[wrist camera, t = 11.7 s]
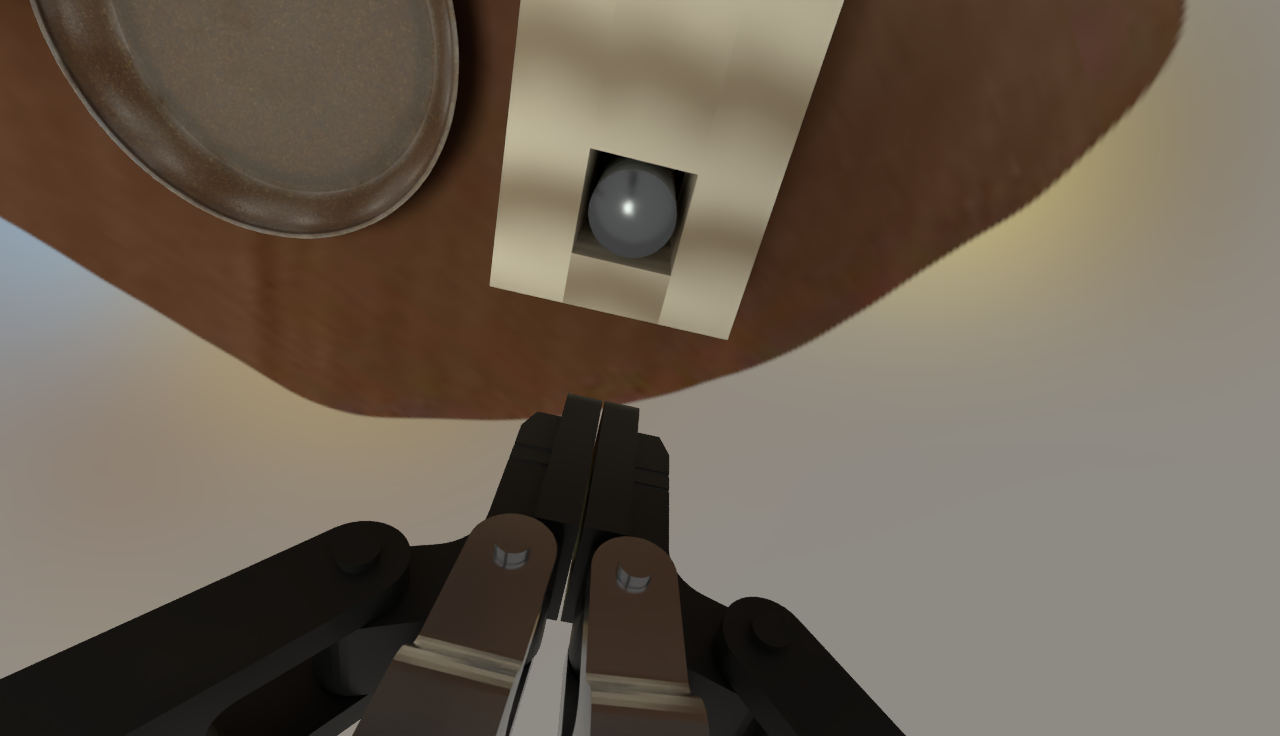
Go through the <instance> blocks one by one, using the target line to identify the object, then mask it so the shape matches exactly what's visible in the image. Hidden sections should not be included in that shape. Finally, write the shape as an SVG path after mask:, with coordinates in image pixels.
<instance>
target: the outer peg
mask: <svg viewBox="0 0 1280 736" xmlns="http://www.w3.org/2000/svg"><path fill="white" fill-rule="evenodd" d="M588 217H589V223H590V227H591V229H592V232H593V234H594V236H595V237H596V239H597V240H598V241H599V243H600V244H601V245H602V246H603V247H605V248H606V249H607V250H609V251H610V252H612V253H614V254H616V255H619V256H622V257H627V258H640V257H644V256H648V255H650V254H652V253H654V252H656V251H658V250H659V249H661V248H662V247H663V246H664V245H665V244H666V243H667V241H668V240H669V239H670V237H671V235H672V233H673V231H674V228H675V225H676V219H677V207H676V183H675V170H674V169H672V168H668V167H664V166H660V165H656V164H652V163H648V162H644V161H640V160H636V159H632V158H628V157H624V156H620V155H616V154H612V155H611V156H610V158H609V160H608V162H607V164H606V166H605V168H604V170H603V173H602V175H601V177H600V179H599V181H598V184H597V186H596V188H595V190H594V192H593V194H592V197H591V199H590V203H589V210H588Z"/></svg>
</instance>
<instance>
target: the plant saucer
mask: <svg viewBox="0 0 1280 736" xmlns="http://www.w3.org/2000/svg"><path fill="white" fill-rule="evenodd" d="M30 3H31V6H32V9H33V12H34V14H35V17H36V19H37V22H38V24H39V27H40V29H41V31H42V33H43V36H44V38H45V40H46V42H47V44H48V46H49V48H50V50H51V52H52V54H53V56H54V58H55V60H56V62H57V64H58V65H59V67H60V69H61V70H62V72H63V74H64V75H65V77H66V78H67V80H68V82H69V83H70V85H71V86H72V88H73V89H74V91H75V92H76V94H77V95H78V97H79V98H80V100H81V101H82V102H83V104H84V105H85V107H86V108H87V110H88V111H89V112H90V114H91V115H92V116H93V117H94V119H95V120H96V121H97V122H98V124H99V125H100V126H101V127H102V128H103V129H104V130H105V132H106V133H107V134H108V135H109V136H110V137H111V138H112V140H113V141H114V142H115V143H116V144H117V145H118V146H119V147H120V148H121V149H122V150H123V151H124V152H125V153H126V154H127V155H128V156H129V157H130V158H131V159H132V160H133V161H134V162H135V163H137V164H138V165H139V166H140V167H141V168H142V169H143V170H144V171H146V172H147V173H148V174H150V175H151V176H152V177H153V178H154V179H155V180H157V181H158V182H160V183H161V184H162V185H164V186H165V187H166V188H168V189H169V190H171V191H172V192H174V193H175V194H177V195H178V196H179V197H181V198H182V199H184V200H186V201H188V202H189V203H191V204H192V205H194V206H196V207H198V208H199V209H202V210H204V211H206V212H208V213H209V214H211V215H214V216H216V217H218V218H220V219H222V220H224V221H227V222H230V223H232V224H235V225H237V226H240V227H243V228H246V229H249V230H253V231H257V232H260V233H265V234H271V235H276V236H282V237H290V238H308V239H313V238H323V237H331V236H338V235H343V234H347V233H350V232H354V231H356V230H359V229H362V228H364V227H367V226H369V225H371V224H374V223H376V222H378V221H379V220H381V219H383V218H385V217H386V216H388V215H389V214H391V213H392V212H394V211H395V210H396V209H398V208H399V207H400V206H401V205H402V204H404V203H405V202H406V201H407V200H408V199H409V198H410V197H411V196H412V195H413V194H414V193H415V192H416V191H417V190H418V189H419V187H420V186H421V185H422V183H423V182H424V181H425V180H426V178H427V177H428V175H429V174H430V172H431V171H432V169H433V167H434V165H435V164H436V162H437V160H438V158H439V156H440V154H441V152H442V149H443V147H444V145H445V142H446V139H447V137H448V134H449V131H450V127H451V123H452V120H453V116H454V110H455V105H456V99H457V91H458V79H459V46H458V34H457V26H456V17H455V12H454V7H453V1H452V0H30Z"/></svg>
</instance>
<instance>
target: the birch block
mask: <svg viewBox="0 0 1280 736" xmlns="http://www.w3.org/2000/svg"><path fill="white" fill-rule="evenodd" d="M843 2H844V0H521V3H520V12H519V21H518V30H517V40H516V49H515V58H514V67H513V76H512V86H511V95H510V104H509V113H508V122H507V131H506V141H505V150H504V159H503V168H502V177H501V187H500V196H499V205H498V214H497V223H496V232H495V242H494V251H493V260H492V269H491V278H490V286H492V287H496V288H500V289H505V290H509V291H514V292H518V293H522V294H527V295H531V296H536V297H540V298H544V299H549V300H553V301H558V302H562V303H566V304H571V305H575V306H580V307H584V308H589V309H593V310H597V311H602V312H606V313H611V314H615V315H619V316H624V317H628V318H633V319H637V320H641V321H646V322H650V323H655V324H659V325H663V326H668V327H672V328H677V329H681V330H685V331H690V332H694V333H699V334H703V335H707V336H712V337H716V338H721V339H725V340H728V337H729V334H730V331H731V328H732V325H733V322H734V320H735V317H736V314H737V311H738V308H739V305H740V302H741V299H742V296H743V293H744V290H745V287H746V285H747V282H748V279H749V276H750V273H751V270H752V267H753V264H754V261H755V258H756V255H757V253H758V250H759V247H760V244H761V241H762V238H763V235H764V232H765V229H766V226H767V223H768V220H769V218H770V215H771V212H772V209H773V206H774V203H775V200H776V197H777V194H778V191H779V188H780V185H781V183H782V180H783V177H784V174H785V171H786V168H787V165H788V162H789V159H790V156H791V153H792V151H793V148H794V145H795V142H796V139H797V136H798V133H799V130H800V127H801V124H802V121H803V118H804V116H805V113H806V110H807V107H808V104H809V101H810V98H811V95H812V92H813V89H814V86H815V83H816V81H817V78H818V75H819V72H820V69H821V66H822V63H823V60H824V57H825V54H826V51H827V49H828V46H829V43H830V40H831V37H832V34H833V31H834V28H835V25H836V22H837V19H838V16H839V14H840V11H841V8H842V5H843ZM602 151H604V152H608V153H612V154H616V155H620V156H624V157H628V158H632V159H636V160H640V161H644V162H648V163H652V164H656V165H660V166H664V167H668V168H672V169H676V170H680V171H684V172H685V173H684V177H683V181H682V184H681V188H680V192H679V196H678V200H677V204H676V207H677V219H676V225H675V228H674V231H673V233H672V235H671V237H670V239H669V240H668V241H667V243H666V244H665V245H664V246H663V247H662V248H661V249H659V250H658V251H656V252H654V253H652V254H650V255H648V256H644V257H640V258H627V257H622V256H619V255H616V254H614V253H612V252H610V251H609V250H607V249H606V248H605V247H603V246H602V245H601V244H600V243H599V241H598V240H597V239H596V237H595V236H594V234H593V232H592V229H591V227H590V223H589V217H588V210H589V203H590V199H591V197H592V194H593V192H594V189H595V184H596V178H597V173H598V168H599V162H600V157H601V152H602Z"/></svg>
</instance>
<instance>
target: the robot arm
mask: <svg viewBox="0 0 1280 736" xmlns="http://www.w3.org/2000/svg"><path fill="white" fill-rule="evenodd" d="M601 406H602V400H598V399H593V398H588V397H584V396H579V395H574V394H570V393H568V396H567V399H566V403H565V406H564V410H563V414H562V417H561V416H556V415H551V414H546V413H542V412H536V413H535V414H534V415H533V416H531V417H530V418H529V419H528V420H527V421H525V422H524V423H523V424H522V425H521V428H520V430H519V433H518V436H517V438H516V441H515V445H514V447H513V449H512V452H511V454H510V458H509V460H508V462H507V465H506V468H505V470H504V473H503V476H502V479H501V481H500V484H499V487H498V489H497V492H496V495H495V497H494V500H493V503H492V505H491V508H490V511H489V513H488V515H487V517H486V519H485V520H484V521H482V522H481V523H479V524H478V525H477V526H476V527H475V528H474V529H473V530H472V532H471V533H470V534H469V535H467V536H465V537H464V538H461V539H459V540H456V541H453V542H449V543H443V544H435V545H421V546H409V543H408V541H407V539H406V538H405V536H404V535H403V534H402V533H401V532H400V531H399V530H397V529H396V528H394V527H392V526H390V525H387V524H384V523H380V522H374V521H358V522H351V523H347V524H344V525H341V526H338V527H335V528H333V529H331V530H329V531H326V532H324V533H322V534H320V535H318V536H315V537H313V538H311V539H309V540H306V541H304V542H302V543H300V544H298V545H296V546H293V547H291V548H289V549H287V550H285V551H282V552H280V553H278V554H276V555H273V556H271V557H269V558H267V559H265V560H262V561H260V562H258V563H256V564H254V565H251V566H249V567H247V568H245V569H243V570H240V571H238V572H236V573H234V574H231V575H229V576H227V577H225V578H223V579H220V580H219V581H216V582H214V583H212V584H209V585H207V586H205V587H203V588H201V589H198V590H196V591H194V592H192V593H190V594H188V595H185V596H183V597H181V598H179V599H176V600H174V601H172V602H170V603H168V604H165V605H163V606H161V607H159V608H157V609H154V610H152V611H150V612H148V613H146V614H143V615H141V616H139V617H137V618H134V619H132V620H130V621H128V622H126V623H123V624H121V625H119V626H117V627H115V628H112V629H110V630H108V631H106V632H104V633H101V634H99V635H97V636H95V637H92V638H90V639H88V640H86V641H84V642H81V643H79V644H77V645H75V646H73V647H71V648H68V649H66V650H64V651H62V652H59V653H57V654H55V655H53V656H51V657H48V658H46V659H44V660H42V661H40V662H38V663H35V664H33V665H31V666H29V667H26V668H24V669H22V670H20V671H18V672H15V673H13V674H11V675H9V676H6V677H4V678H2V679H0V736H337V735H339V734H340V733H341V732H343V731H344V730H345V729H347V728H348V727H350V726H351V725H353V724H354V723H356V722H357V721H358V720H360V719H361V720H360V722H359V724H358V726H357V728H356V730H355V731H354V733H353V735H352V736H511V733H512V730H513V726H514V723H515V720H516V716H517V713H518V710H519V706H520V703H521V700H522V696H523V693H524V690H525V686H526V683H527V680H528V676H529V673H530V669H531V666H532V663H533V658H534V656H535V655H536V654H537V652H538V650H539V648H540V645H541V640H542V637H543V632H544V628H545V624H546V619H552V620H557V618H558V613H559V609H560V605H561V601H562V597H563V593H564V588H565V584H566V580H567V576H568V572H569V568H570V563H571V568H570V574H569V578H568V584H567V589H566V595H565V600H564V606H563V611H562V617H561V621H563V622H569V623H573V625H572V631H571V638H570V644H569V648H568V652H567V656H566V660H565V663H564V669H563V680H562V692H561V703H560V715H559V726H558V736H906V735H905V734H904V733H903V732H902V731H901V730H900V729H899V728H898V727H897V726H896V725H895V724H894V723H893V721H892V720H891V719H890V718H889V717H888V716H887V715H886V714H885V713H884V712H883V711H882V710H881V708H880V707H879V706H878V705H877V704H876V703H875V702H874V701H873V700H872V699H871V698H870V697H869V696H868V694H867V693H866V692H865V691H864V690H863V689H862V688H861V687H860V686H859V685H858V684H857V683H856V681H855V680H854V679H853V678H852V677H851V676H850V675H849V674H848V673H847V672H846V671H845V670H844V669H843V667H842V666H841V665H840V664H839V663H838V662H837V661H836V660H835V659H834V658H833V657H832V655H831V654H830V653H829V652H828V651H827V650H826V649H825V648H824V647H823V646H822V645H821V644H820V642H818V640H817V639H816V638H815V637H814V636H813V635H812V634H811V633H810V632H809V631H808V629H806V627H805V626H804V625H803V624H802V623H801V622H800V621H799V620H798V619H797V618H796V617H795V616H794V615H793V614H792V613H791V612H790V611H788V610H787V609H786V608H785V607H783V606H781V605H779V604H778V603H775V602H773V601H771V600H768V599H765V598H760V597H746V598H741V599H739V600H737V601H735V602H733V603H732V604H731V605H730V606H729V607H726V606H724V605H722V604H720V603H718V602H716V601H714V600H712V599H710V598H708V597H706V596H704V595H702V594H701V593H699V592H697V591H696V590H694V589H693V588H691V587H690V586H689V585H688V584H687V583H686V582H685V581H683V579H682V578H681V577H680V576H679V575H678V573H677V571H676V568H675V565H674V563H673V561H672V560H671V558H670V556H669V493H668V491H669V477H668V476H669V454H668V452H667V450H666V449H665V447H664V445H663V443H662V441H661V440H660V438H659V437H655V436H651V435H646V434H642V433H638V421H639V408H635V407H631V406H626V405H622V404H617V403H612V402H608V401H605V404H604V408H603V412H602V416H601V420H600V424H599V429H598V433H597V428H598V422H599V417H600V411H601ZM596 433H597V437H596ZM595 439H596V441H595ZM594 444H595V446H594ZM572 556H573V557H572ZM571 560H572V562H571Z"/></svg>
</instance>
